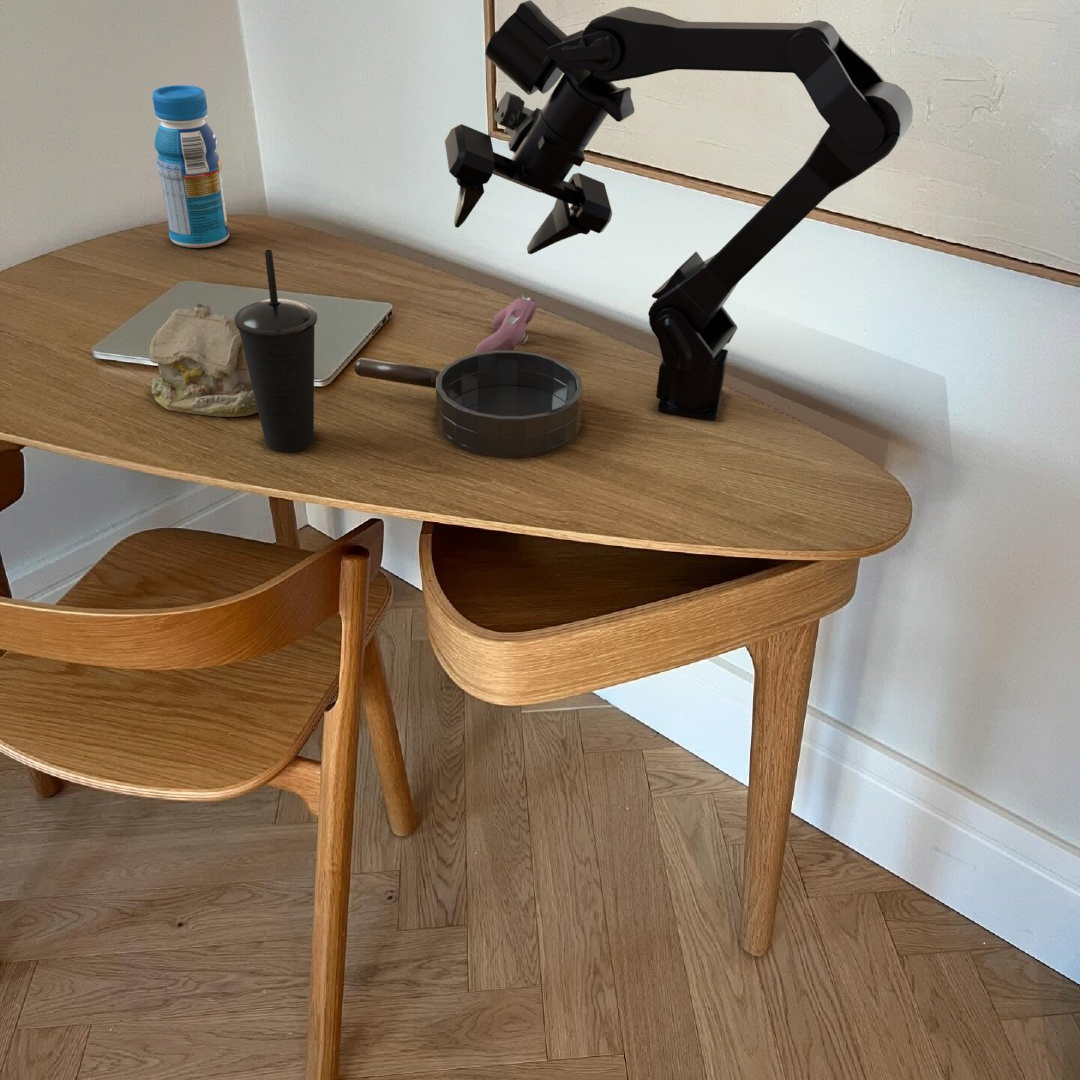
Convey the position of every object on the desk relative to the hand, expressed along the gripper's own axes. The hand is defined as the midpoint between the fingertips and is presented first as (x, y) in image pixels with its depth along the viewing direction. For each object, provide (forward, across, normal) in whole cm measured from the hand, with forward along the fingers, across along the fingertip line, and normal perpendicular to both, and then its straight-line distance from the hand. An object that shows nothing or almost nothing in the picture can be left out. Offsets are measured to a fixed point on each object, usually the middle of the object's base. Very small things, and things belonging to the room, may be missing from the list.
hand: (492, 238), depth 121 cm
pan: (+7, -3, +20) cm, 21 cm away
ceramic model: (+23, +23, +11) cm, 35 cm away
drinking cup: (+16, +18, +22) cm, 32 cm away
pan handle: (+11, +7, +14) cm, 20 cm away
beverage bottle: (+40, +22, -33) cm, 56 cm away
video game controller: (+12, -8, +3) cm, 14 cm away
